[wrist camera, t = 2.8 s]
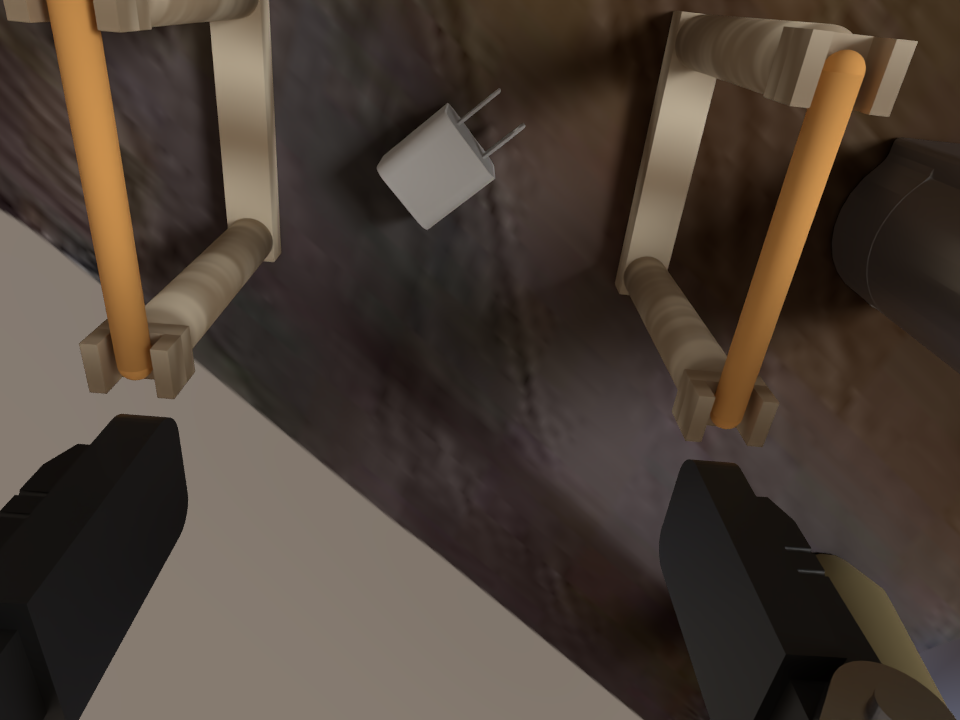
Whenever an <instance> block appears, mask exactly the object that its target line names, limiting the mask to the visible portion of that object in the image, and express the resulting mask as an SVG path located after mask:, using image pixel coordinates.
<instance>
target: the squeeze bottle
mask: <svg viewBox="0 0 960 720" xmlns="http://www.w3.org/2000/svg"><path fill="white" fill-rule="evenodd" d="M816 557H817V559H818V560H819V562H820V563H821V565H822V567H823V568H824V570H825V572H824V574H825V576H828V577H829V578H830V580H831V581H832V583H833V585H834V586H835V588H836V590H837V591H838V593H839V595H840V596H841V598H842V599H843V601H844V603H845V604H846V606H847V608H848V609H849V611H850V612H851V614H852V616H853V617H854V619H855V621H856V622H857V624H858V626H859V627H860V629H861V630H862V632H863V634H864V635H865V637H866V639H867V640H868V642H869V644H870V645H871V647H872V648H873V650H874V652H875V653H876V655H877V657H878V658H879V660H880V661H881V663H882V664H884V665H887V666H889V667H892V668H895V669H897V670H899V671H901V672H903V673H905V674H907V675H909V676H910V677H912V678H914V679H915V680H917V681H918V682H920V683H921V684H922V685H924V686H925V687H927V688H928V689H929V690H930V691H931V692H932V693H934V694H935V695H936V696H937V697H938V698H939V699H940V700H941V701H942V702H943V703H944V704H945V702H944V700H943V698H942V696H941V695H940V693H939V691H938V689H937V687H936V685H935V683H934V681H933V680H932V678H931V676H930V674H929V672H928V670H927V668H926V667H925V665H924V663H923V661H922V659H921V657H920V655H919V653H918V652H917V650H916V648H915V646H914V644H913V642H912V640H911V638H910V637H909V635H908V633H907V631H906V629H905V627H904V625H903V624H902V622H901V620H900V618H899V616H898V614H897V612H896V610H895V609H894V607H893V605H892V603H891V601H890V599H889V598H888V596H887V594H886V593H885V591H884V589H882V588H881V587H880V586H878V585H877V584H876V583H874V582H873V581H872V580H870V579H869V578H868V577H866V576H865V575H864V574H862V573H861V572H860V571H858V570H857V569H856V568H854V567H853V566H852V565H850V564H849V563H848V562H847V561H845V560H843V559H841V558H839V557H837V556H836V555H828V554H816ZM945 705H946V704H945Z"/></svg>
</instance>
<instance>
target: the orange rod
mask: <svg viewBox="0 0 960 720" xmlns="http://www.w3.org/2000/svg"><path fill="white" fill-rule="evenodd" d="M46 1H47V6H48V12H49V17H50V22H51V27H52V32H53V37H54V43H55V48H56V53H57V58H58V63H59V69H60V74H61V79H62V84H63V89H64V95H65V100H66V105H67V110H68V115H69V121H70V126H71V131H72V136H73V141H74V146H75V152H76V157H77V162H78V167H79V172H80V178H81V183H82V188H83V193H84V198H85V204H86V209H87V214H88V219H89V224H90V230H91V235H92V240H93V245H94V250H95V255H96V261H97V266H98V271H99V276H100V281H101V287H102V292H103V297H104V302H105V307H106V312H107V318H108V323H109V328H110V333H111V339H112V344H113V349H114V354H115V359H116V364H117V368H118V371H119V372H120V374H121V375H122V376H123V377H125V378H127V379H130V380H140V379H144V378H145V377H147V376H148V375H149V374H150V373H151V372H152V370H153V367H152V361H151V354H150V349H151V348H152V347H151V341H150V335H149V329H148V322H147V316H146V310H145V304H144V297H143V291H142V285H141V279H140V273H139V266H138V260H137V254H136V248H135V241H134V235H133V229H132V223H131V216H130V210H129V204H128V198H127V192H126V185H125V179H124V173H123V167H122V160H121V154H120V148H119V142H118V135H117V129H116V123H115V117H114V111H113V104H112V98H111V92H110V86H109V79H108V73H107V67H106V61H105V55H104V48H103V42H102V36H101V30H98V28H97V22H96V16H95V9H94V3H93V0H46Z"/></svg>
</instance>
